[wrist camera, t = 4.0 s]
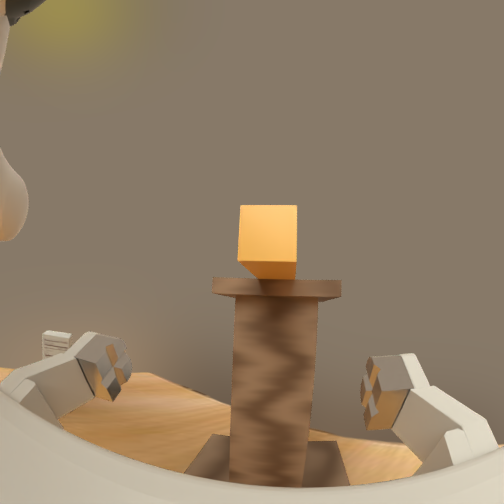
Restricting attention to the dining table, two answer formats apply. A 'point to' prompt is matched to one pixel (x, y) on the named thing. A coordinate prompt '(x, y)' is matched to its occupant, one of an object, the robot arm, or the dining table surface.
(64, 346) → the supplement box
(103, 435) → the dining table surface
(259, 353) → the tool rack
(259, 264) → the gray and orange bar
